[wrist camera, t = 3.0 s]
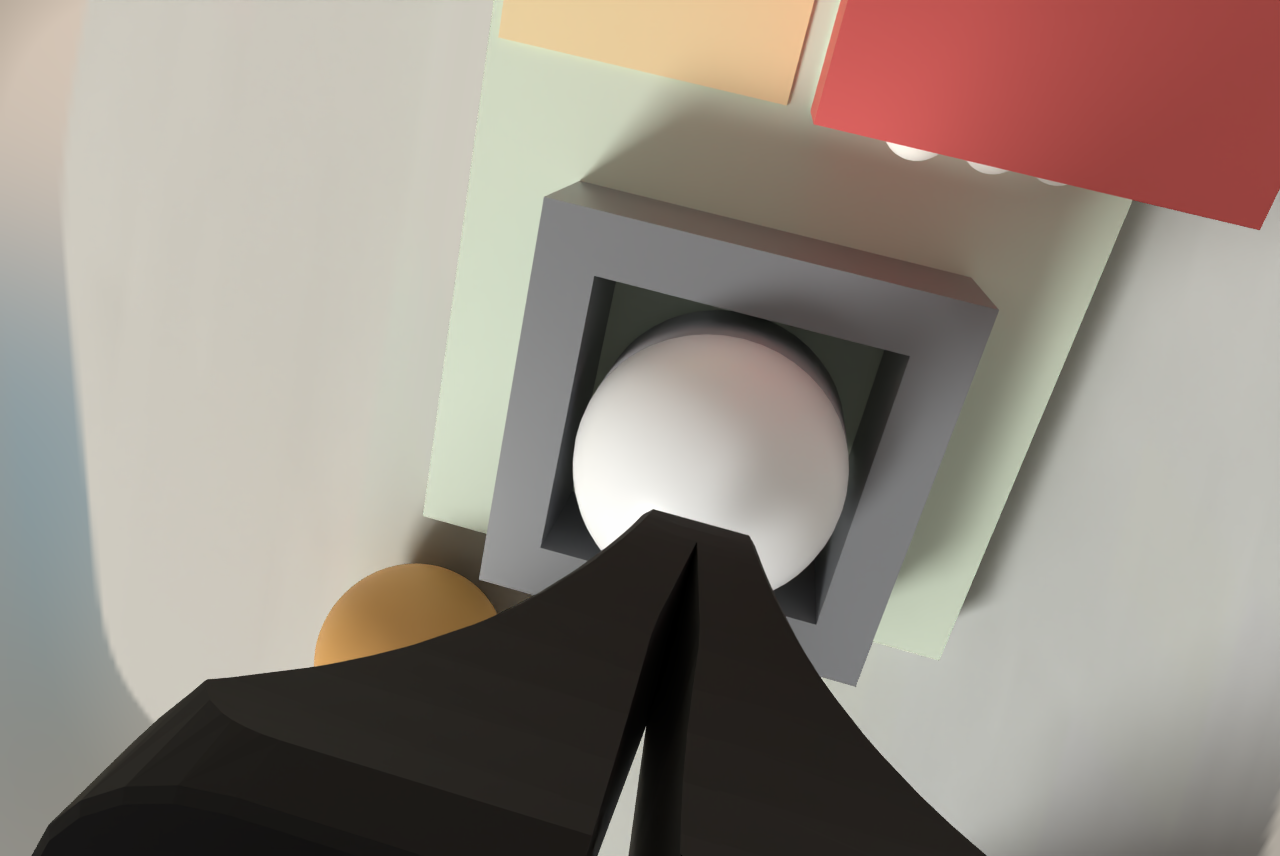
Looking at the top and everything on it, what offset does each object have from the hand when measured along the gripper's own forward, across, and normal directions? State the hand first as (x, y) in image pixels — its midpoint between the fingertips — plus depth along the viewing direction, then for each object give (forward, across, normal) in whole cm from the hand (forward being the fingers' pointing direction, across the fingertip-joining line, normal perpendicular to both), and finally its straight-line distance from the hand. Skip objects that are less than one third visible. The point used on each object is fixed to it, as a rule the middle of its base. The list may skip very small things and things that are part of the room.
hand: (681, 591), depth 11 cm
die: (+6, -2, -8) cm, 11 cm away
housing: (+6, 0, 0) cm, 6 cm away
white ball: (+6, 0, 0) cm, 6 cm away
